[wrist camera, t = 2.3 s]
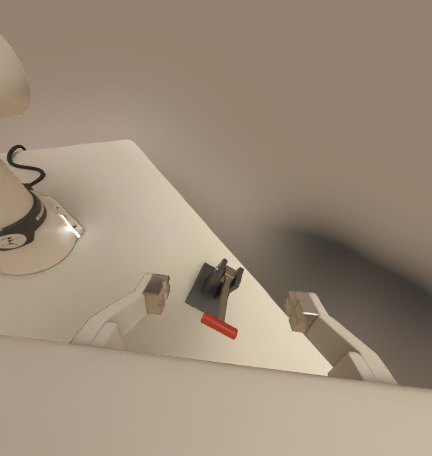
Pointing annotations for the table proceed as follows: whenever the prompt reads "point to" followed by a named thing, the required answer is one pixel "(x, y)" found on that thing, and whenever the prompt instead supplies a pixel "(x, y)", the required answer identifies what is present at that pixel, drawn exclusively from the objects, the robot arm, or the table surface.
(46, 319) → the table surface
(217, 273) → the bracket
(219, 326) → the lever
